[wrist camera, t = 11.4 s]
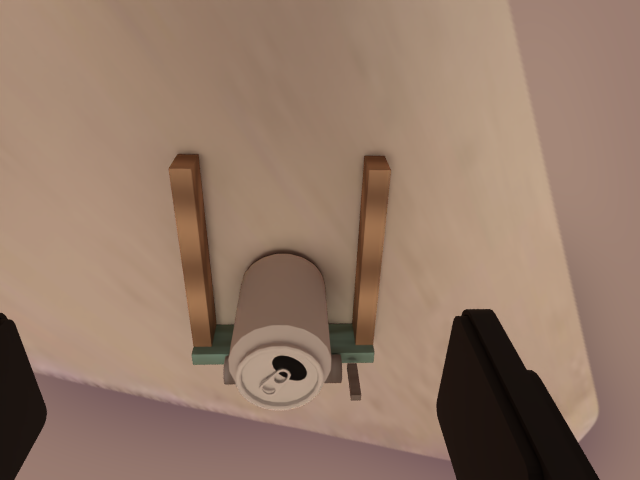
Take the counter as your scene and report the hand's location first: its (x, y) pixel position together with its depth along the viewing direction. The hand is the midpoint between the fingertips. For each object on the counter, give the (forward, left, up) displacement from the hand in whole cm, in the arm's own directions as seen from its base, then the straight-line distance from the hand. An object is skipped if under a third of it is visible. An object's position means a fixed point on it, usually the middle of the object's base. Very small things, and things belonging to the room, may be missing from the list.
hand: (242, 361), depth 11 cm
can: (+18, 0, -28) cm, 34 cm away
